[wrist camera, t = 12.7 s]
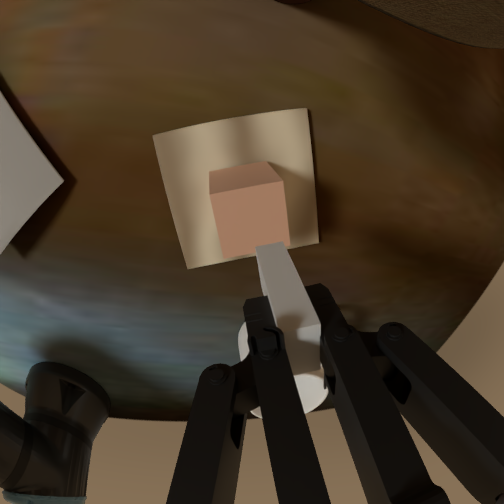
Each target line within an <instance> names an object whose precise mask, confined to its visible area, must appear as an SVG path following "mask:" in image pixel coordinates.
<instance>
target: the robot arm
mask: <svg viewBox="0 0 504 504" xmlns="http://www.w3.org/2000/svg"><path fill="white" fill-rule="evenodd" d="M255 250H256V256H257V262H258V268H259V274H260V280H261V286H262V290H263V294H264V296H262V297H257V298H252V299H247V300H246V301H245V304H244V306H243V311H244V316H245V322H246V328H247V334H248V339H247V343H248V347H249V353H248V355H247V356H246V358H245V359H244V360H242V361H241V362H239V363H238V364H235V365H233V366H231V367H230V366H228V365H227V364H221V363H220V364H213V365H211V366H209V367H207V368H206V369H205V370H204V371H203V372H202V374H201V376H200V378H199V382H198V386H197V389H196V393H195V396H194V400H193V404H192V407H191V411H190V415H189V418H188V422H187V426H186V430H185V433H184V437H183V441H182V445H181V448H180V452H179V456H178V460H177V463H176V467H175V471H174V475H173V479H172V482H171V486H170V490H169V494H168V498H167V502H166V504H234V500H235V493H236V487H237V481H238V473H239V467H240V461H241V454H242V446H243V440H244V434H245V426H246V420H247V413H248V412H250V411H252V410H254V409H256V408H258V407H260V410H261V415H262V420H263V425H264V431H265V436H266V441H267V446H268V451H269V456H270V462H271V467H272V472H273V477H274V481H275V487H276V491H277V496H278V501H279V504H331V502H330V499H329V495H328V492H327V488H326V485H325V482H324V478H323V475H322V471H321V468H320V464H319V461H318V457H317V454H316V450H315V447H314V444H313V440H312V437H311V434H310V430H309V426H308V423H307V420H306V416H305V413H304V409H303V406H302V403H301V399H300V396H299V392H298V389H297V386H296V382H295V379H294V376H295V375H300V374H304V373H308V372H312V371H316V370H320V369H321V364H322V367H323V369H324V384H323V386H324V389H326V387H327V388H328V391H329V394H330V397H331V399H332V402H333V405H334V408H335V410H336V413H337V416H338V419H339V421H340V424H341V427H342V430H343V432H344V435H345V438H346V441H347V444H348V446H349V449H350V452H351V455H352V458H353V461H354V464H355V466H356V470H357V472H358V475H359V478H360V481H361V484H362V487H363V490H364V493H365V496H366V499H367V502H368V504H450V501H449V499H448V496H447V495H446V493H445V491H444V490H443V489H442V488H441V487H440V486H437V485H435V484H434V483H433V482H432V480H431V479H430V476H429V474H428V472H427V470H426V467H425V465H424V463H423V461H422V459H421V456H420V454H419V452H418V450H417V448H416V445H415V444H414V441H413V439H412V437H411V435H410V433H409V431H408V429H407V427H406V425H405V422H404V420H403V418H402V416H401V414H402V415H403V416H404V418H405V419H406V420H407V421H408V422H409V423H410V424H411V426H412V427H413V428H414V429H415V430H416V431H417V433H418V434H419V435H420V436H421V437H422V438H423V439H424V441H425V442H426V443H427V444H428V445H429V446H430V447H431V449H432V450H433V451H434V452H435V453H436V454H437V455H438V457H439V458H440V459H441V460H442V461H443V462H444V464H445V465H446V466H447V467H448V468H449V469H450V470H451V472H452V473H453V474H454V475H455V476H456V477H457V479H458V480H459V481H460V482H461V483H462V484H463V485H464V487H465V488H466V489H467V490H468V491H469V493H470V494H471V495H472V496H473V497H474V498H475V499H476V500H477V501H479V502H480V503H481V504H504V417H503V416H502V415H501V414H500V413H499V412H498V411H497V410H496V409H495V408H494V407H493V406H492V405H491V404H490V403H489V402H488V401H487V400H485V399H484V398H483V397H482V396H481V395H480V394H479V393H478V392H477V391H476V390H475V389H474V388H473V387H472V386H471V385H470V384H469V383H468V382H467V381H466V380H464V379H463V378H462V377H461V376H460V375H459V374H458V373H457V372H456V371H455V370H454V369H453V368H452V367H450V366H449V365H448V364H447V363H446V362H445V361H444V360H443V359H442V358H441V357H440V356H438V355H437V354H436V353H435V352H434V351H433V350H432V349H431V348H430V347H429V346H428V345H426V344H425V343H424V342H423V341H422V340H421V339H420V338H419V337H417V336H416V335H415V334H414V333H413V332H412V331H411V330H410V329H408V328H407V327H406V326H404V325H403V324H401V323H397V322H389V323H386V324H384V325H382V326H381V327H380V328H379V331H378V332H360V331H357V330H356V329H355V328H354V327H353V326H351V325H349V324H347V322H346V320H345V318H344V317H343V315H342V313H341V311H340V309H339V307H338V306H337V304H336V303H335V300H334V298H333V297H332V295H331V293H330V291H329V289H328V288H327V287H325V286H324V285H322V284H321V283H319V284H315V285H310V286H306V287H304V286H303V284H302V281H301V279H300V277H299V275H298V273H297V271H296V268H295V266H294V264H293V262H292V260H291V258H290V256H289V254H288V251H287V249H286V247H285V245H284V243H283V241H281V242H276V243H271V244H266V245H261V246H256V247H255ZM25 387H26V399H25V414H24V418H23V419H22V418H21V417H20V416H18V415H17V414H16V413H14V412H13V411H12V410H10V409H9V408H8V407H7V406H5V405H4V404H3V403H2V402H1V401H0V487H1V488H3V489H4V491H2V493H3V497H4V499H5V500H6V501H8V502H10V503H12V504H85V500H86V488H87V480H88V471H89V464H90V457H91V450H92V444H93V441H94V439H95V437H96V436H97V434H98V432H99V430H100V428H101V427H102V425H103V423H104V422H105V421H106V419H107V418H108V415H109V409H110V400H109V397H108V395H107V394H106V392H105V391H104V390H103V389H102V387H101V386H100V385H98V384H97V383H96V382H95V381H94V380H92V379H91V378H89V377H88V376H86V375H85V374H83V373H81V372H79V371H77V370H75V369H73V368H70V367H67V366H64V365H61V364H57V363H50V362H42V363H38V364H35V365H34V366H32V367H31V369H30V371H29V373H28V376H27V378H26V385H25ZM400 413H401V414H400Z"/></svg>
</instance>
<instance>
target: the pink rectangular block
mask: <svg viewBox="0 0 504 504" xmlns="http://www.w3.org/2000/svg"><path fill="white" fill-rule="evenodd" d="M209 195H210V200H211V204H212V209H213V214H214V218H215V223H216V227H217V232H218V236H219V241H220V245H221V249H222V254H223V258H224V259H226V258H231V257H236V256H241V255H246V254H251V253H255V252H256V250H255V247H256V246H261V245H266V244H271V243H276V242H281V241H283V243H284V245H285V246H290V237H289V227H288V218H287V210H286V201H285V193H284V184H283V180H282V179H281V178H280V177H279V175H278V174H277V173H276V172H275V171H274V170H273V168H272V167H271V166H270V165H269V164H268V163H267V162H266V161H263V162H257V163H251V164H246V165H240V166H235V167H230V168H224V169H219V170H214V171H209Z"/></svg>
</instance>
